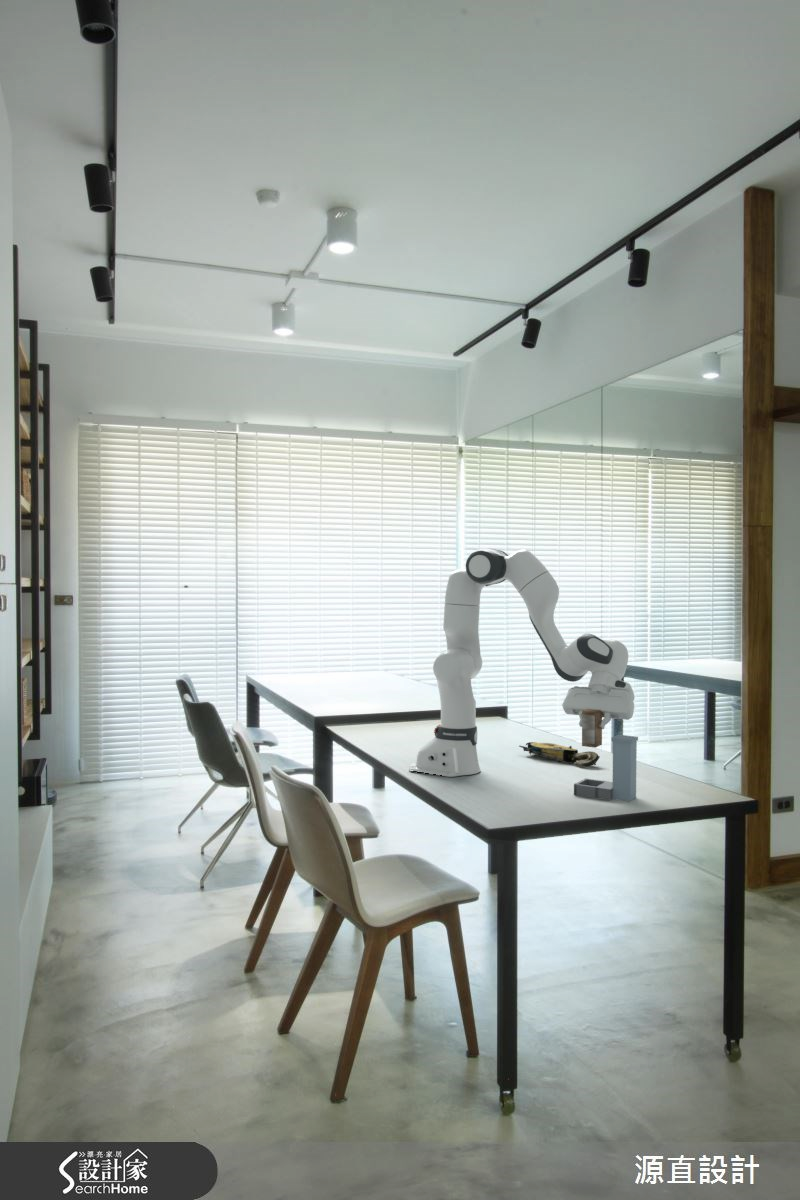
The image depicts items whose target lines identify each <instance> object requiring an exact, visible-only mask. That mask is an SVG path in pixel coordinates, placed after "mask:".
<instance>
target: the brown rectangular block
mask: <svg viewBox="0 0 800 1200" xmlns="http://www.w3.org/2000/svg"><path fill="white" fill-rule="evenodd" d="M602 720H603V717H602V712H601V710H594V709H586V710H583V711H582V727H581V747H586V748H597V747H600V746H602V744H603V729H598V726H597V725H598V722H599V721H602Z"/></svg>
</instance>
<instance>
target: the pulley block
mask: <svg viewBox="0 0 800 1200" xmlns="http://www.w3.org/2000/svg"><path fill="white" fill-rule="evenodd" d="M518 747H520V748H522V749H523V751H524V752H528V754H530V755H529V756H531V755H532V754H533V755H536V756H539V757H543V758H547V759H550V760H555V761H558V763H561V762H563V763H569V764H573V765H575V766H578V767H584V768H585V767H592V766H597V762H598V760H599V759H600V755H598V753H596V751H595V752H594V751H588V750H587V751H583V752H579V751H578V749H577V748H572V747H573V746H572V745H570V746H564V745H560V744H557V743H556V744H555V743H551V742H550V743H549V742H536V741H535V742H534V741H531V742H526V743H525V746H524V745H519V746H518Z"/></svg>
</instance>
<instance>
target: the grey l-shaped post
mask: <svg viewBox="0 0 800 1200" xmlns="http://www.w3.org/2000/svg"><path fill="white" fill-rule="evenodd" d="M638 741H639V736H635V735H624V734H617V735H615V736H612V737H611V742H612V781H609V780H608V781H607V780H599V779H595V778H594V779H592V778H583V779H581V780H579V781H577V782H575V783H573V795H574V796H579V797H585V796H586V797H585V798H593V799H598V798H599V799H600V800H605V799H606V800H607V801H612V800H616V799H618V800H617V801H623V800H625V801H624V802H632V801H634V800H635V799H636V798H637V754H638V753H637V745H638V744H637V742H638ZM634 798H635V799H634ZM599 799H598V800H599ZM631 800H632V801H631Z"/></svg>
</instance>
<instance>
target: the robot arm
mask: <svg viewBox="0 0 800 1200" xmlns="http://www.w3.org/2000/svg"><path fill="white" fill-rule="evenodd" d="M505 581H508V582H510V583H511V585H512V586H514V588H515V589H516V591H517V592H518V593H519V594H520V596H521V598H522V600H523V601H524V604H525V605H526V608H527V611H528V616H529V620H530V622H531V624H532V626H533V628H534V631H535V632H536V634H537V636H538V637H539V639H540V641H541V643H542V644H543V645H544V648H545V649H546V651H547V652H548V655H549V656H550V659H551V662H552V665H553V668H554V670H555V672H556V674H557V676H559V677H560V678H562V679H563V680H565V681H567V682H578V681H580V680H581V679H583V677H584V676H586V674H587V673H588V672H590V673H591V676H590V679H589V683H588V686H579V685H578V686H577V685H576V686H573V687H570V688H569V689H568V691H567V693H566V696H565V697H564V699H563V702H562V705H561V706H562V709H563V712H564V714H567V715H574V716H578V717H579V719H580V720H579V723H578V724H579V727H580V728H582V711H583V710H586V709H594V710H601V712H602V721H599V722H598V725H597V726H598V729H602V730H604V729H605V727H606V725H607V724H608V723H610V722H611V720H612V719H616V720H625V721H627V720H628V721H629V720H630V719H631V718H633V715H634V713H635V711H634V710H635V703H634V701H635V694H634V690H633V687H632V686H631V683H629V682H626V681H623V680H622V679H623V678H624V676H625V674H626V670H627V667H628V662H629V651H628V649H627V647H626V646H625V644H624V643H622V642H621V641H619V640H616V639H608V640H607V639H602V638H600V637H598V636H596V635H595V634H593V633H583V634H580V635H579V636H578V637H577V638H575V639H574V640H573V641H572V642H570V644H569V645H568V644H567V643H566V642H565V639H564V638H563V636H562V635H561V632H560V630H559V629H558V628H557V626H556V624H555V619H554V616H555V615H554V614H555V609H556V607H557V606H556V605H557V603H558V601H559V596H560V588H559V585H558V583H557V581H556V579H555V578H554V577H553V575H552V574H551V573H550V571H549V570H548V568H547V567H546V566H545V565H544V564H543V563H542V561H540V560H539V559H538V557H536V556H535V555H534V554H533V553H532V552H531V551H529V550H528V549H519V550H516V551H514V552H512V553H511V554H510V555H509V554H507V553H506V552H505V551H503V550H499V549H497V548H480V549H476V550H475V551H473V552H472V553H471V554H470V555H469V556H468V557H467V559H466V562H465V568H458V569H455V570H453V571H452V572H451V573H450V574H449V577H448V580H447V583H446V584H447V585H446V589H445V596H444V610H443V631H444V634H445V639H446V650H445V651H442V652H441V653H439V655H438V656H437V657H436V658H435V660H434V662H433V666H432V671H433V674H434V676H435V678H436V682H437V687H438V692H439V693H438V694H439V700H440V724H438V725H436V727H435V728H434V729H433V733H434V736H435V737H433V738H432V739H431V740H429V741H428V742H427V743H425V744H424V745H423V746H422V747H420V748H419V750H418V752H417V754H416V760H415V762H413V763H411V764H410V765H409V769H410V770H413V771H419V772H424V773H423V774H425V773H429V774H428V775H433V774H436V775H435V776H440V775H442V777H448V778H451V777H452V778H455V777H459V776H469V775H475V774H478V773H480V772H481V770H482V769H481V766H480V763H479V759H478V749H477V745H478V727H477V724H476V723H477V720H476V718H477V717H476V713H477V709H476V708H477V707H476V706H477V705H476V703H477V702H476V699H475V696H474V693H473V688H472V679H474V678H475V677H476V676H477V675H479V673H480V672H481V669H482V666H483V658H482V655H481V643H480V634H479V624H480V607H481V606H480V605H481V603H480V602H481V592H482V590H483V588H484V587H488V586H489V587H490V586H492V585H497V584H498V585H499V584H500V583H502V582H505ZM410 770H409V771H410Z"/></svg>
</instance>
